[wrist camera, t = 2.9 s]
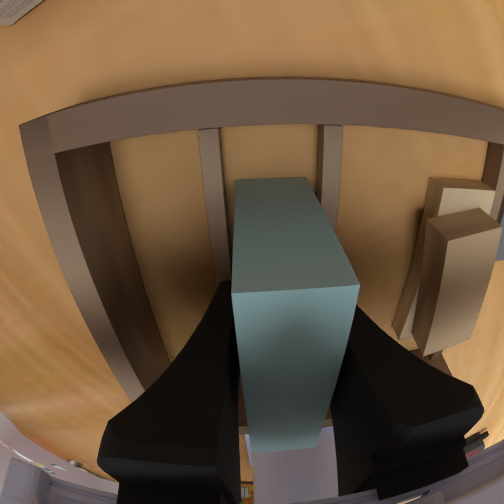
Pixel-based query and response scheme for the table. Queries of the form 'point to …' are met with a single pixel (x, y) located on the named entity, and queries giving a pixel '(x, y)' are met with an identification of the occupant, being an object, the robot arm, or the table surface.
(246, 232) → the teal rectangular block
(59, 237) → the rack
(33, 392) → the table surface
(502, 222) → the pad
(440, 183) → the offcut lower
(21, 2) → the ink box
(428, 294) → the offcut upper
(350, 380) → the robot arm
